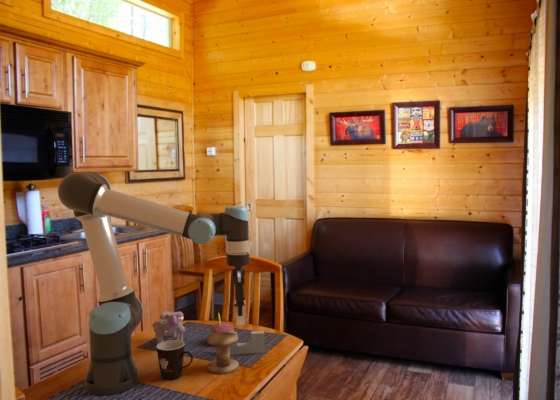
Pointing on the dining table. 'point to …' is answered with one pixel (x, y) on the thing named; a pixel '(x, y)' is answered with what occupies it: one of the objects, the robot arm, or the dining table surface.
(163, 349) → the coffee mug
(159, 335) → the pale pink animal-shaped figure
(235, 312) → the salmon pink block
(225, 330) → the cupcake
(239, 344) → the notch board
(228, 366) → the door knob
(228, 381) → the dining table surface
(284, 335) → the dining table surface
